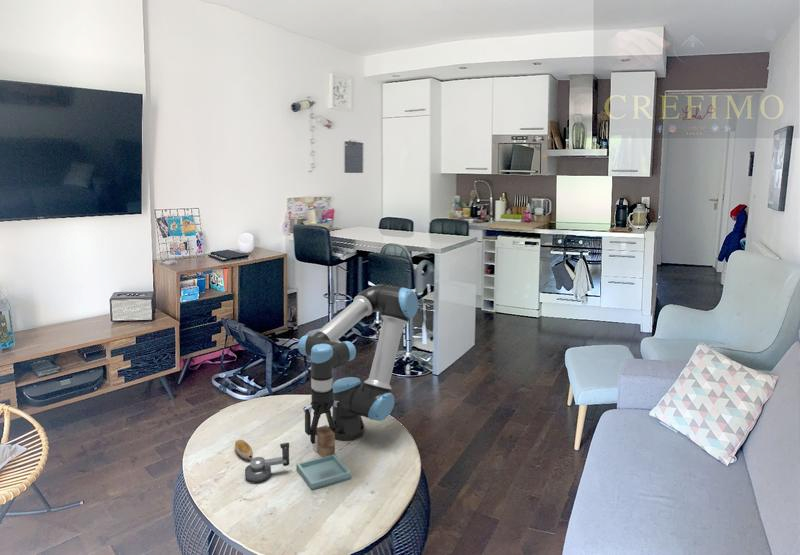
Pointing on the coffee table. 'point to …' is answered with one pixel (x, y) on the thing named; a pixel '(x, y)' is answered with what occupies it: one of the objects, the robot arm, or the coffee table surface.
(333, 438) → the stop block
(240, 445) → the sweet potato
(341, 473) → the tray
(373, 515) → the coffee table surface
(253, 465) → the crank
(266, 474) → the crank base
